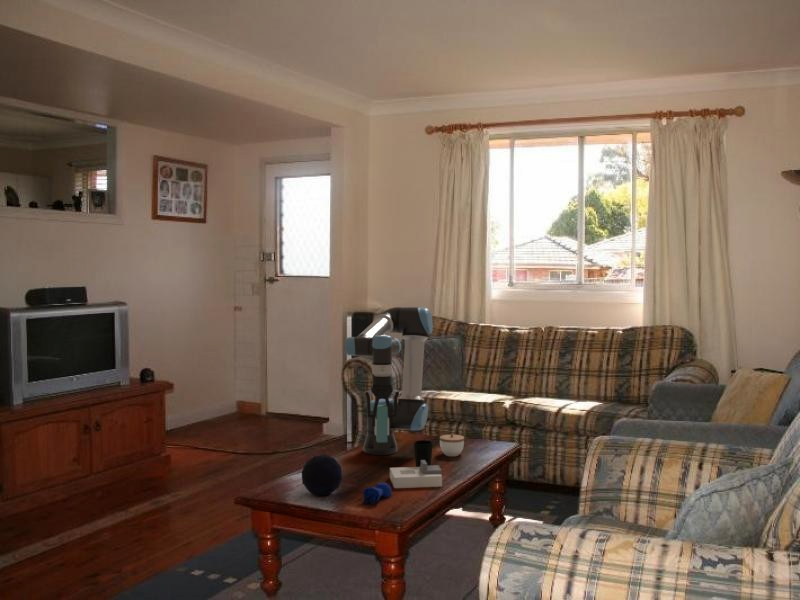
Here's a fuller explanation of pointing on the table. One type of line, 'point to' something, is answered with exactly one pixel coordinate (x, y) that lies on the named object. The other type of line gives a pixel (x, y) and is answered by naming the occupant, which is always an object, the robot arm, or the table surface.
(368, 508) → the table surface
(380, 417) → the plug
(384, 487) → the toy
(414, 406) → the robot arm
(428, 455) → the cup
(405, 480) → the socket box
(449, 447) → the lidded jar
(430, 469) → the plate
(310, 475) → the decorative orb
